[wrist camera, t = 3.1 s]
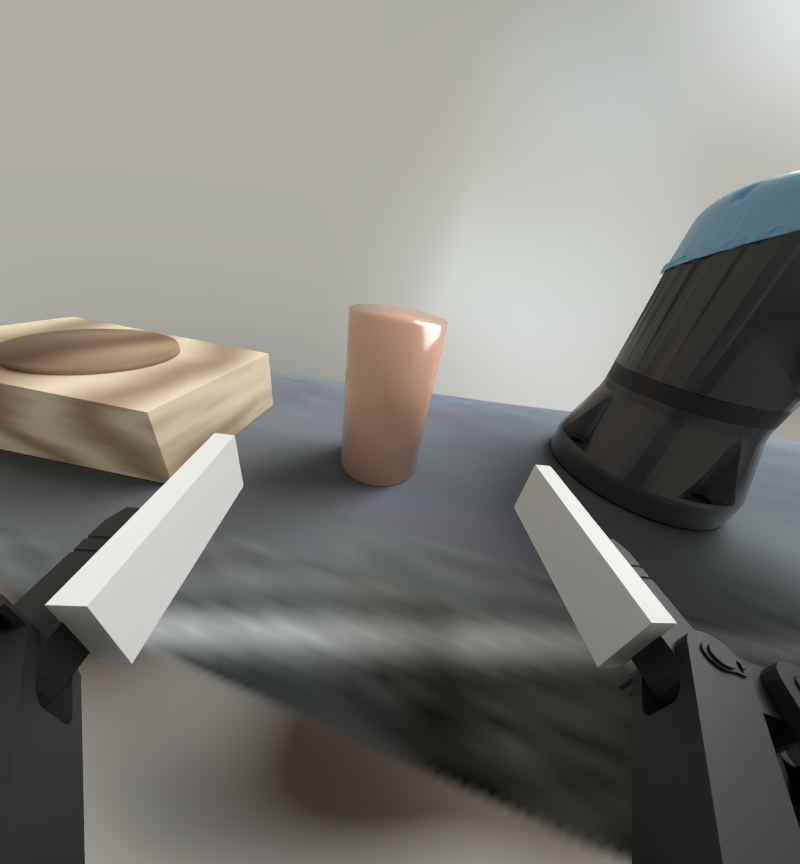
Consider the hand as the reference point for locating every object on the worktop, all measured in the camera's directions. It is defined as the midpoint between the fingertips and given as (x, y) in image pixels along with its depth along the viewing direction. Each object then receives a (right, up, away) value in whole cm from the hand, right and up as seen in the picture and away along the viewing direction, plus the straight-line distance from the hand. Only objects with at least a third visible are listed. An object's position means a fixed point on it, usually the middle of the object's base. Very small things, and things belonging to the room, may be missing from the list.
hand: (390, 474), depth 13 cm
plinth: (-24, +3, +12) cm, 27 cm away
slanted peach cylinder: (-1, -1, +12) cm, 12 cm away
